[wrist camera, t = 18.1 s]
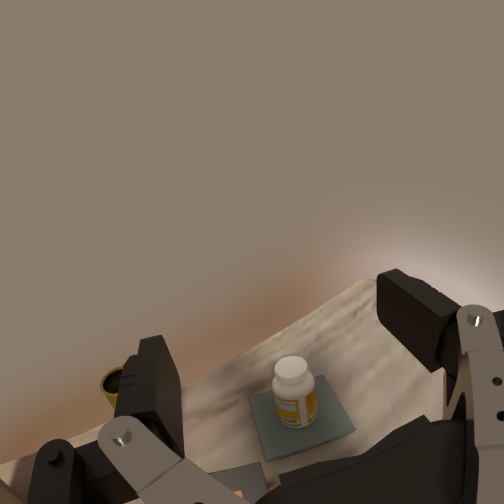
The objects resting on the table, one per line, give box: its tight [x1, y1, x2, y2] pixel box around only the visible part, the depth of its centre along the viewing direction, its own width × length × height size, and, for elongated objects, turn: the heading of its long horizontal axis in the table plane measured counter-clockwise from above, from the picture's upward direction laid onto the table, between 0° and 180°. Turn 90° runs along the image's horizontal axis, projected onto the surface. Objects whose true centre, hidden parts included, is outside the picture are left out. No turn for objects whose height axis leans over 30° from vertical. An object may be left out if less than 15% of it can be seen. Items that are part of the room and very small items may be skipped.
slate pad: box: [248, 375, 355, 461], centre depth 40 cm, size 12×12×1 cm
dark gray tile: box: [209, 463, 268, 504], centre depth 28 cm, size 10×10×1 cm
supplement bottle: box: [272, 356, 317, 428], centre depth 38 cm, size 5×5×10 cm
